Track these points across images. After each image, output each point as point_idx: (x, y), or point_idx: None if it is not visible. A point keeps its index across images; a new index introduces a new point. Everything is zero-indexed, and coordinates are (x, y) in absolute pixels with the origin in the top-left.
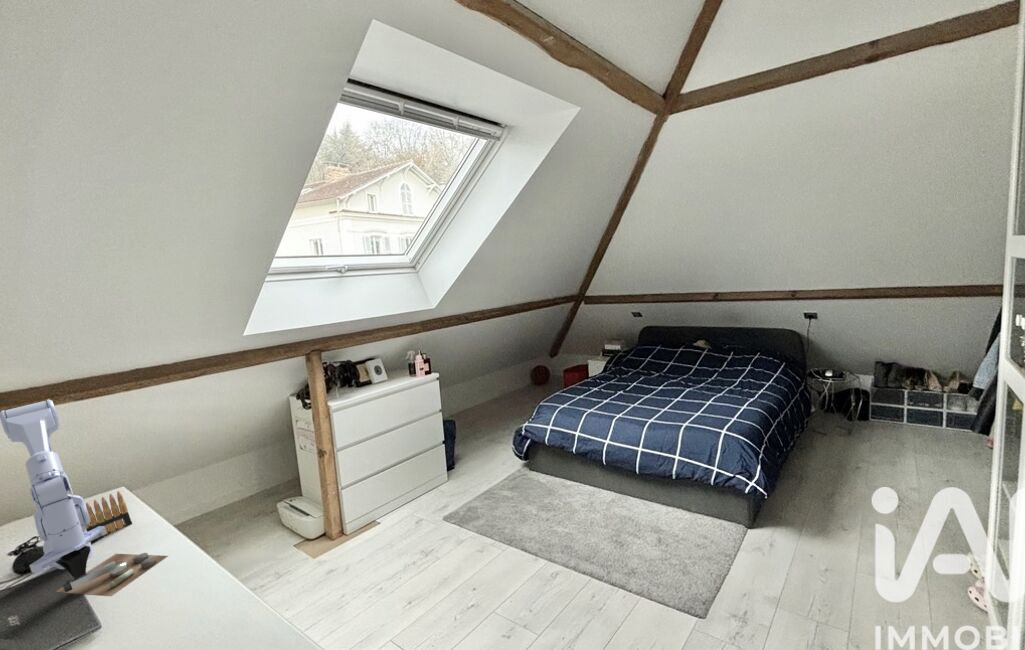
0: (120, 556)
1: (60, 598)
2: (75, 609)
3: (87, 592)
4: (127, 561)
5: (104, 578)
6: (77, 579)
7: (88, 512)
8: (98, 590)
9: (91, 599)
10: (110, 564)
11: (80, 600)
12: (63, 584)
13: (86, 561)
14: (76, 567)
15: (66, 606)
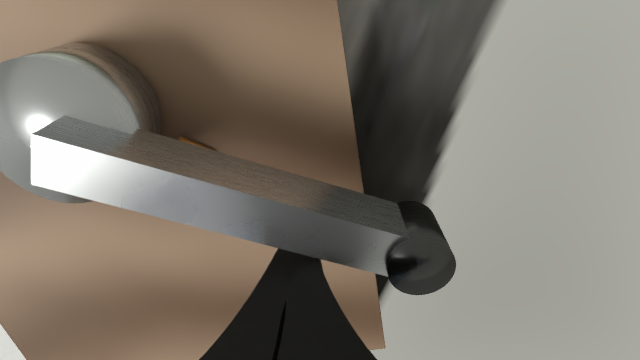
0: (36, 336)
1: (387, 286)
2: (450, 38)
3: (335, 111)
4: (15, 226)
5: None
6: (357, 227)
7: None
8: (289, 33)
9: (344, 42)
10: (79, 153)
11: (372, 127)
12: (447, 269)
13: (214, 347)
14: (334, 331)
15: (435, 158)
